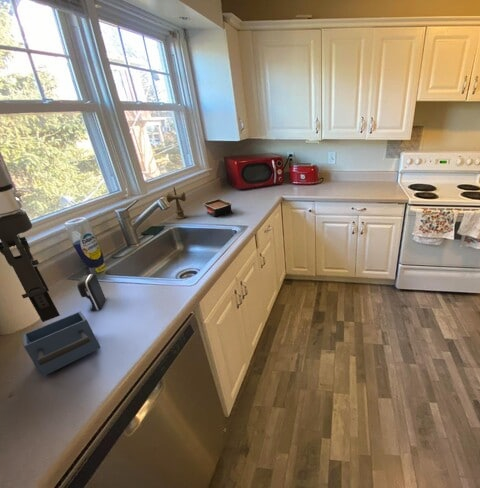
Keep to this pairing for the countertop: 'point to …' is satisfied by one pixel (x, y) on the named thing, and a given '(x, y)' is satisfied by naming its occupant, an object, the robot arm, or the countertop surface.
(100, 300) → the battery charger
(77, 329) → the handled carry box
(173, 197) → the kendama
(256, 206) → the countertop surface
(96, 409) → the countertop surface
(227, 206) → the square planter pot
